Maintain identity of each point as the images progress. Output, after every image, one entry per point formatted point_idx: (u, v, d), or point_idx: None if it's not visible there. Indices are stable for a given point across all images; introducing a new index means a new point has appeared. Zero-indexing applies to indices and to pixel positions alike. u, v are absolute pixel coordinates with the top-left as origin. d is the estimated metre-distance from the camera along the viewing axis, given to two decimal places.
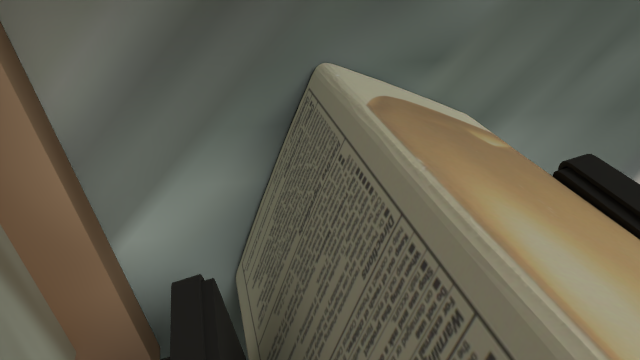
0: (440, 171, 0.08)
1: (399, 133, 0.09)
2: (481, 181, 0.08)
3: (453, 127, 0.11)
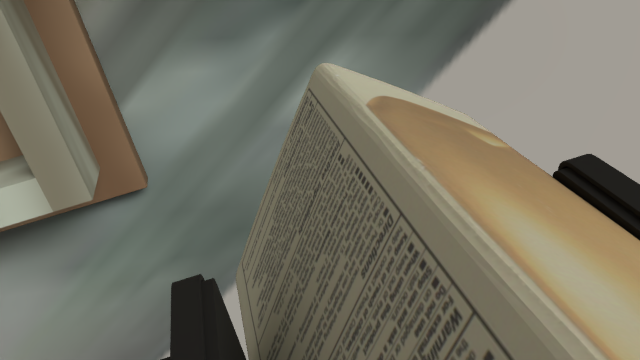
0: (439, 171, 0.08)
1: (398, 133, 0.09)
2: (480, 181, 0.08)
3: (452, 127, 0.11)
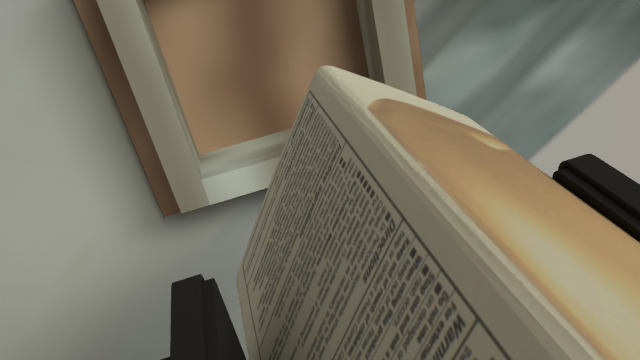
0: (441, 175, 0.08)
1: (400, 136, 0.09)
2: (482, 185, 0.08)
3: (454, 130, 0.11)
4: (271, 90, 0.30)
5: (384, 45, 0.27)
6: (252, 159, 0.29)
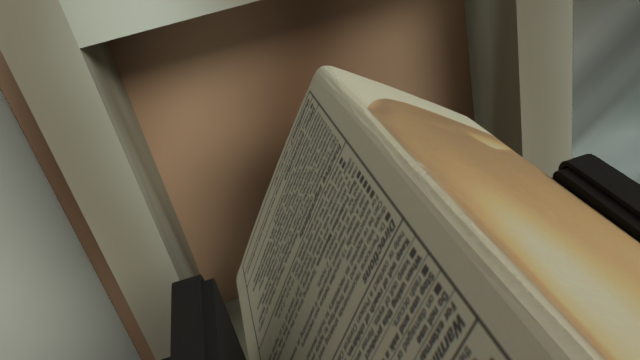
0: (441, 175, 0.08)
1: (400, 136, 0.09)
2: (482, 185, 0.08)
3: (454, 130, 0.11)
4: None
5: (532, 154, 0.16)
6: None
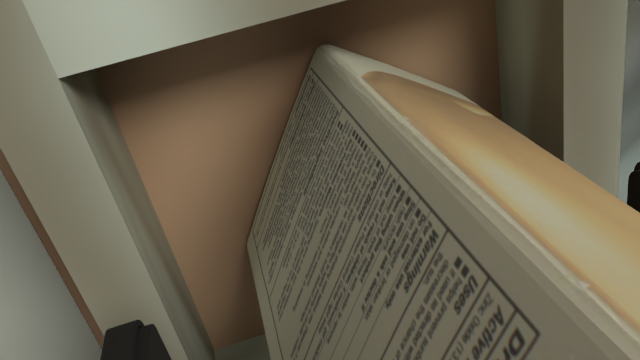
0: (423, 125, 0.09)
1: (389, 98, 0.10)
2: (459, 135, 0.09)
3: (440, 97, 0.12)
4: None
5: None
6: None
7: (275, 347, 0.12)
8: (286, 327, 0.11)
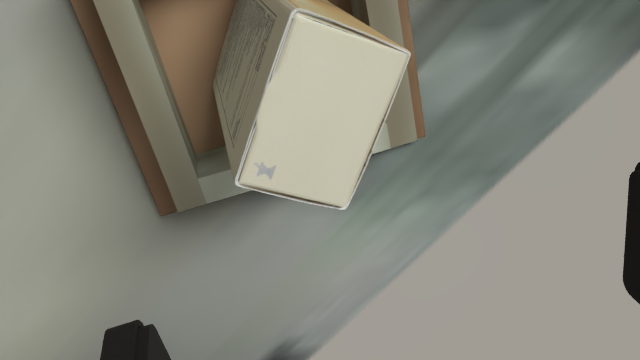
0: None
1: None
2: None
3: None
4: None
5: None
6: None
7: (220, 106, 0.25)
8: (224, 93, 0.25)
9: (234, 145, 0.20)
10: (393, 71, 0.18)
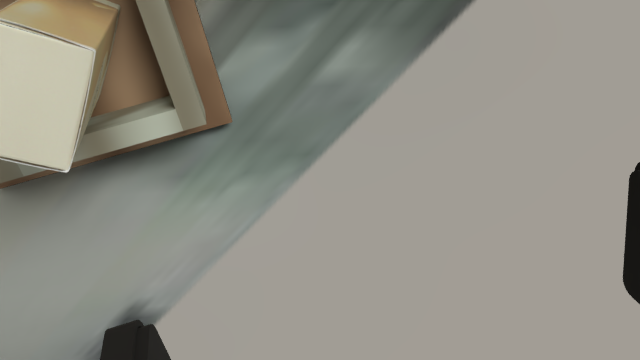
0: None
1: None
2: (46, 0, 0.28)
3: (82, 0, 0.31)
4: None
5: (156, 43, 0.33)
6: None
7: None
8: None
9: None
10: (83, 64, 0.24)
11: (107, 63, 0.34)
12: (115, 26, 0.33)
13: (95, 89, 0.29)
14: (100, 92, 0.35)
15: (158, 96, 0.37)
